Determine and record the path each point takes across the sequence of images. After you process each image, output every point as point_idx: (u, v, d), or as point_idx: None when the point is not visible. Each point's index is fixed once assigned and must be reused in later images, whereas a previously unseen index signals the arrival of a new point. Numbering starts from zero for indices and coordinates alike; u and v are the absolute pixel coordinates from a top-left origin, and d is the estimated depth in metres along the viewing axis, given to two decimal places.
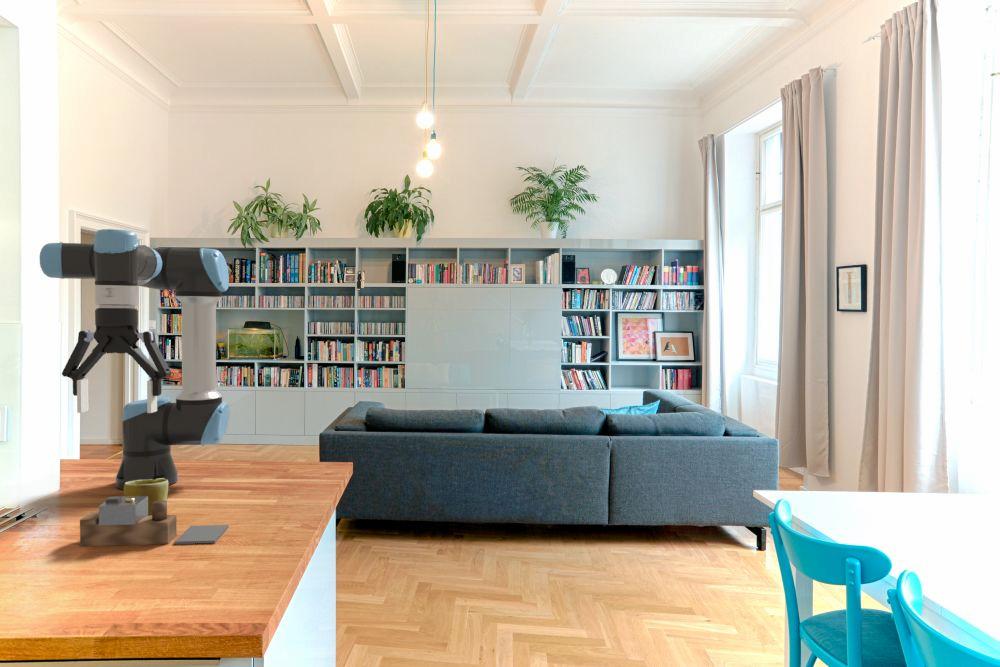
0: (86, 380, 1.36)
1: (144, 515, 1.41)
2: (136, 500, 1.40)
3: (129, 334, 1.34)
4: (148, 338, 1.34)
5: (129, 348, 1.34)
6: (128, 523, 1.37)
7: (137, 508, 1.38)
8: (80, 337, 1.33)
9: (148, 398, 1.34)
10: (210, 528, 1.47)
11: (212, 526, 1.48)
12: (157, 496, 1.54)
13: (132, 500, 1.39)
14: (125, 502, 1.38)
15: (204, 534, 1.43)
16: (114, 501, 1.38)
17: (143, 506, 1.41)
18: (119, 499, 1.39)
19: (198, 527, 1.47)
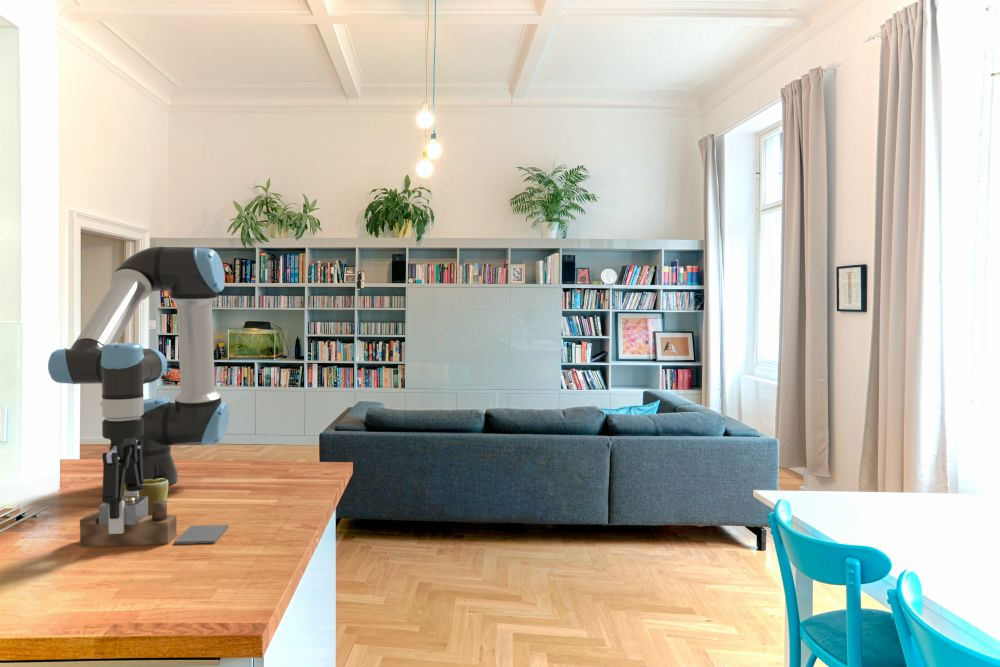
0: (134, 493, 1.43)
1: (144, 515, 1.41)
2: (136, 500, 1.40)
3: None
4: None
5: None
6: (128, 523, 1.37)
7: (137, 508, 1.38)
8: None
9: None
10: (210, 528, 1.47)
11: (212, 526, 1.48)
12: (157, 496, 1.54)
13: (132, 500, 1.39)
14: (125, 502, 1.38)
15: (204, 534, 1.43)
16: None
17: (143, 506, 1.41)
18: None
19: (198, 527, 1.47)
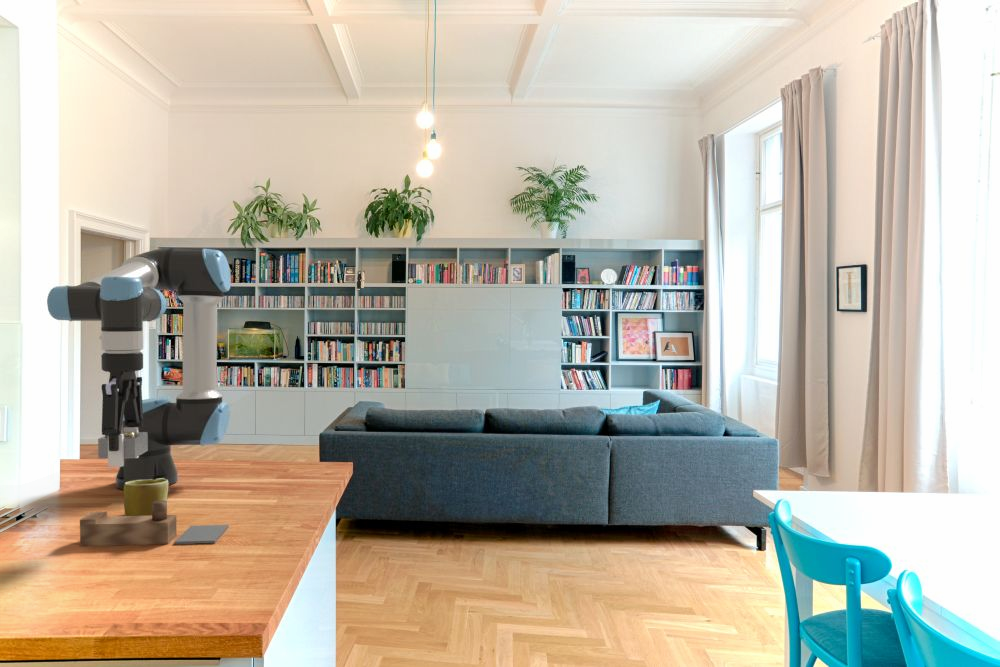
0: (134, 429, 1.42)
1: (143, 451, 1.41)
2: (135, 435, 1.40)
3: None
4: None
5: None
6: (128, 456, 1.36)
7: (137, 442, 1.37)
8: None
9: None
10: (210, 528, 1.47)
11: (212, 526, 1.48)
12: (157, 496, 1.54)
13: (132, 434, 1.39)
14: (124, 436, 1.38)
15: (204, 534, 1.43)
16: None
17: (143, 441, 1.40)
18: None
19: (198, 527, 1.47)
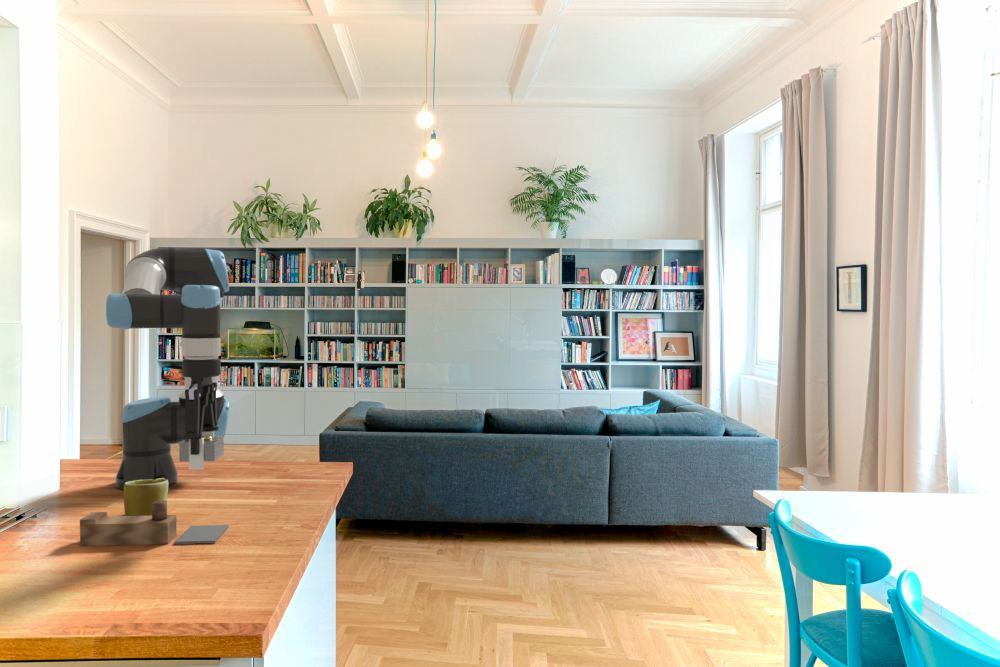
0: (210, 433, 1.46)
1: (220, 454, 1.44)
2: (213, 438, 1.43)
3: None
4: None
5: None
6: (207, 460, 1.40)
7: (216, 446, 1.41)
8: None
9: None
10: (210, 528, 1.47)
11: (212, 526, 1.48)
12: (157, 496, 1.54)
13: (210, 438, 1.42)
14: None
15: (204, 534, 1.43)
16: None
17: (220, 444, 1.44)
18: None
19: (198, 527, 1.47)
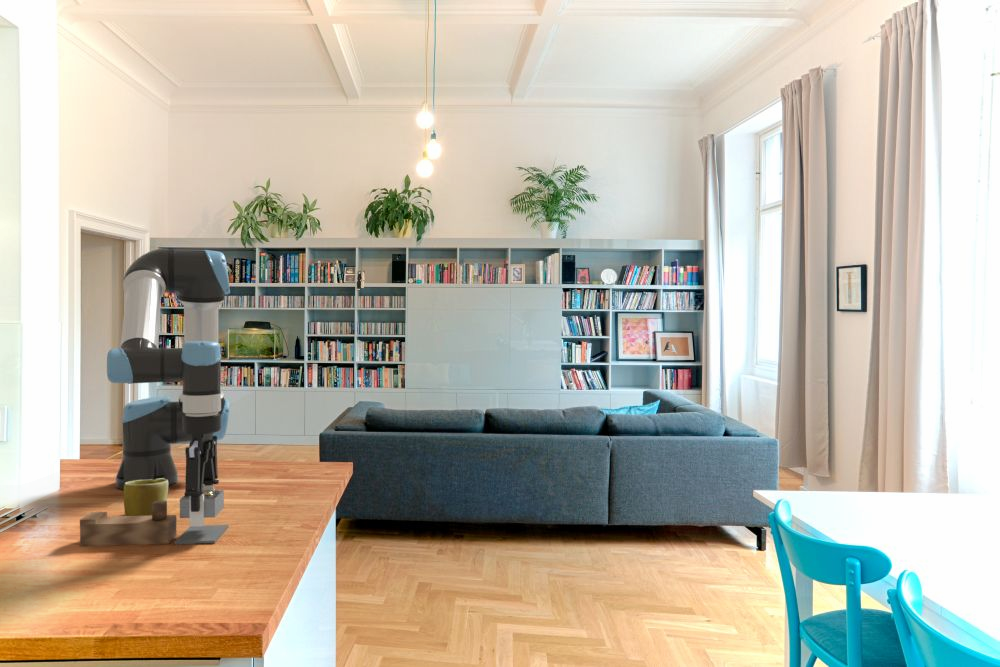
0: (210, 487, 1.47)
1: (220, 509, 1.45)
2: (213, 493, 1.44)
3: None
4: None
5: None
6: (208, 516, 1.40)
7: (216, 502, 1.42)
8: None
9: None
10: (210, 528, 1.47)
11: (212, 526, 1.48)
12: (157, 496, 1.54)
13: (210, 494, 1.43)
14: (204, 496, 1.42)
15: (204, 534, 1.43)
16: None
17: (220, 499, 1.45)
18: None
19: (198, 527, 1.47)
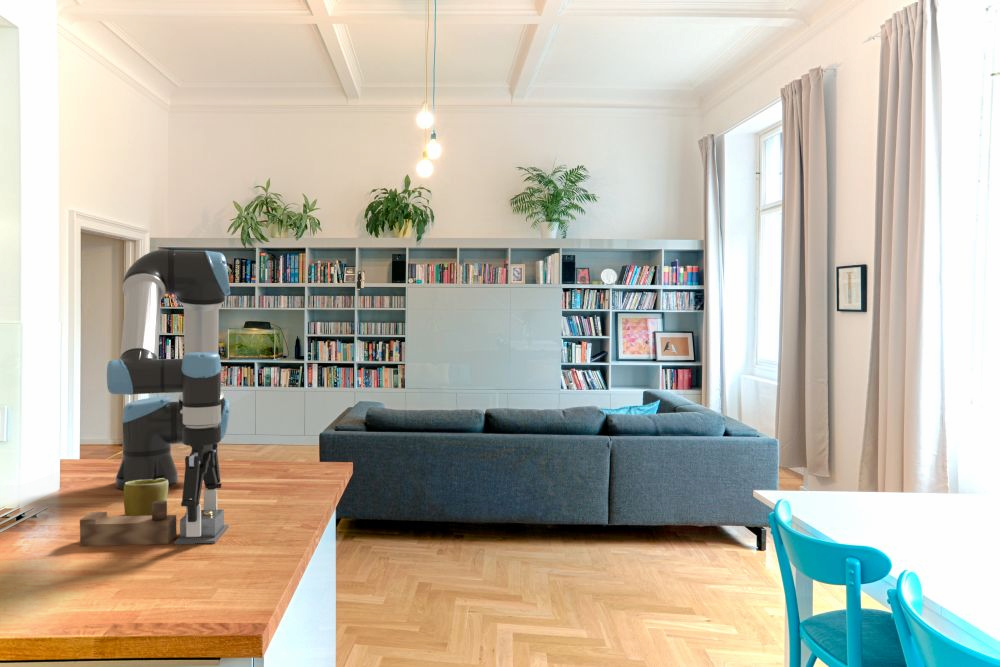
0: (213, 491, 1.49)
1: (221, 528, 1.45)
2: (214, 513, 1.44)
3: None
4: None
5: None
6: (208, 536, 1.41)
7: (216, 522, 1.42)
8: None
9: None
10: None
11: None
12: (157, 496, 1.54)
13: (210, 514, 1.43)
14: (204, 516, 1.42)
15: None
16: None
17: (220, 519, 1.45)
18: None
19: None
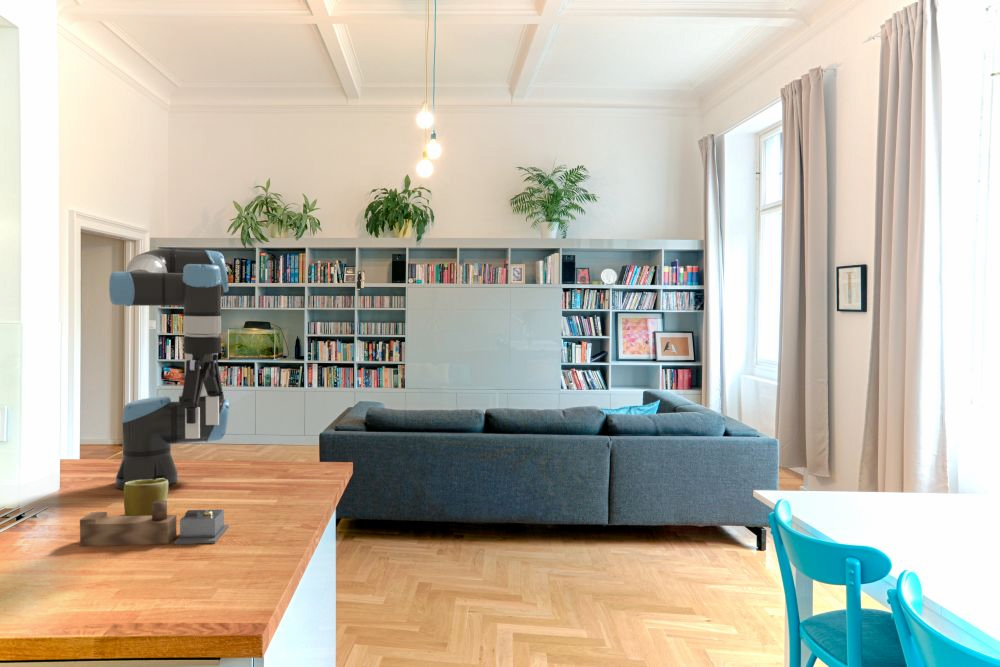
0: (215, 398, 1.54)
1: (221, 528, 1.45)
2: (214, 513, 1.44)
3: None
4: None
5: None
6: (208, 536, 1.41)
7: (216, 522, 1.42)
8: None
9: None
10: None
11: None
12: (157, 496, 1.54)
13: (210, 514, 1.43)
14: (204, 516, 1.42)
15: None
16: (193, 515, 1.42)
17: (220, 519, 1.45)
18: (198, 513, 1.43)
19: None
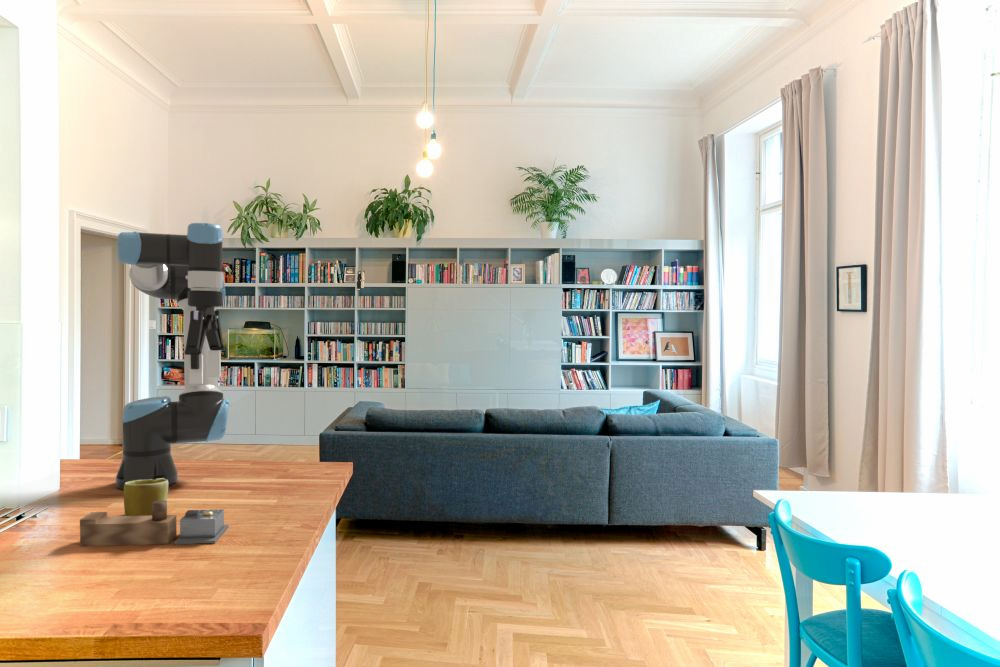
0: (217, 352, 1.64)
1: (221, 528, 1.45)
2: (214, 513, 1.44)
3: None
4: None
5: None
6: (208, 536, 1.41)
7: (216, 522, 1.42)
8: None
9: None
10: None
11: None
12: (157, 496, 1.54)
13: (210, 514, 1.43)
14: (204, 516, 1.42)
15: None
16: (193, 515, 1.42)
17: (220, 519, 1.45)
18: (198, 513, 1.43)
19: None
